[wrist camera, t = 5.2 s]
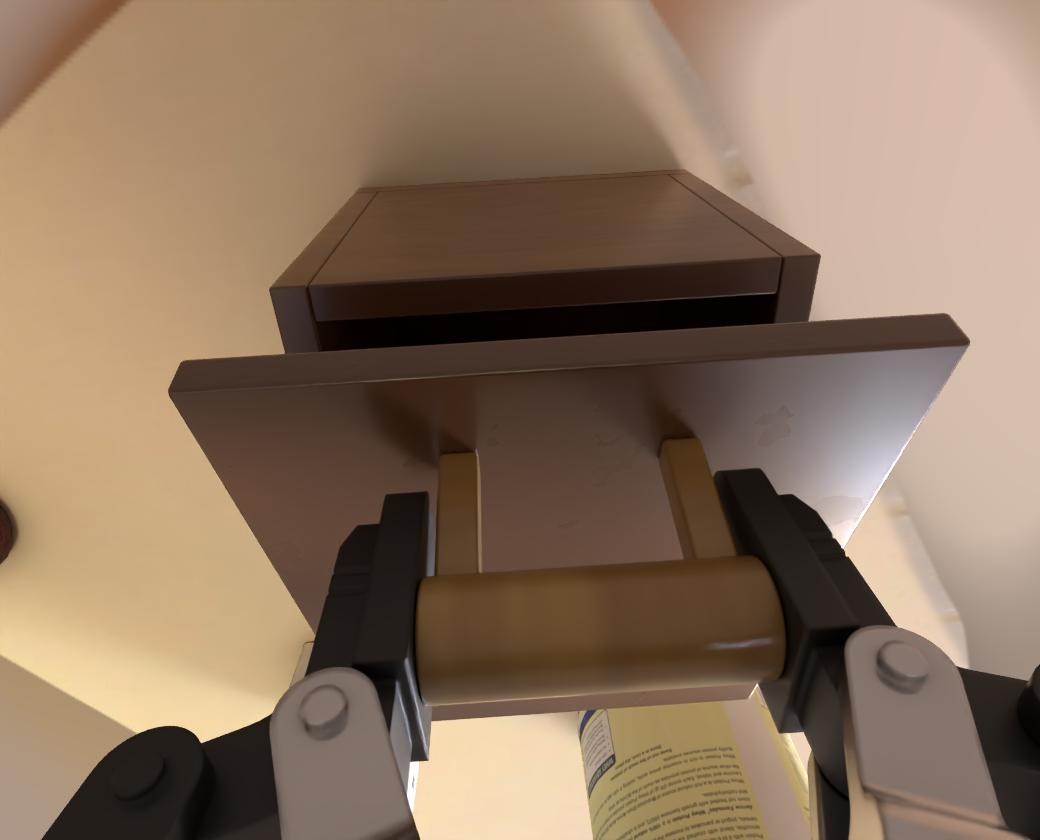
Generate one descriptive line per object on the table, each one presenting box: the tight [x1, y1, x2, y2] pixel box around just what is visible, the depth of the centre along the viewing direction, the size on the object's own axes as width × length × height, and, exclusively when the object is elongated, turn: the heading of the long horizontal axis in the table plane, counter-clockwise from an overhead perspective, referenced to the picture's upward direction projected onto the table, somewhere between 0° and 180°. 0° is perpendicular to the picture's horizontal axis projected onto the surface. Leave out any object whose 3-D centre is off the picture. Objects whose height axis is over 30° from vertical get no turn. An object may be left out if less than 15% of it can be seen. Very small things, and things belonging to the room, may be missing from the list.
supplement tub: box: [578, 685, 811, 840], centre depth 34 cm, size 12×12×17 cm
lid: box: [168, 313, 970, 721], centre depth 15 cm, size 16×13×5 cm
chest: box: [269, 169, 821, 354], centre depth 24 cm, size 15×13×12 cm
